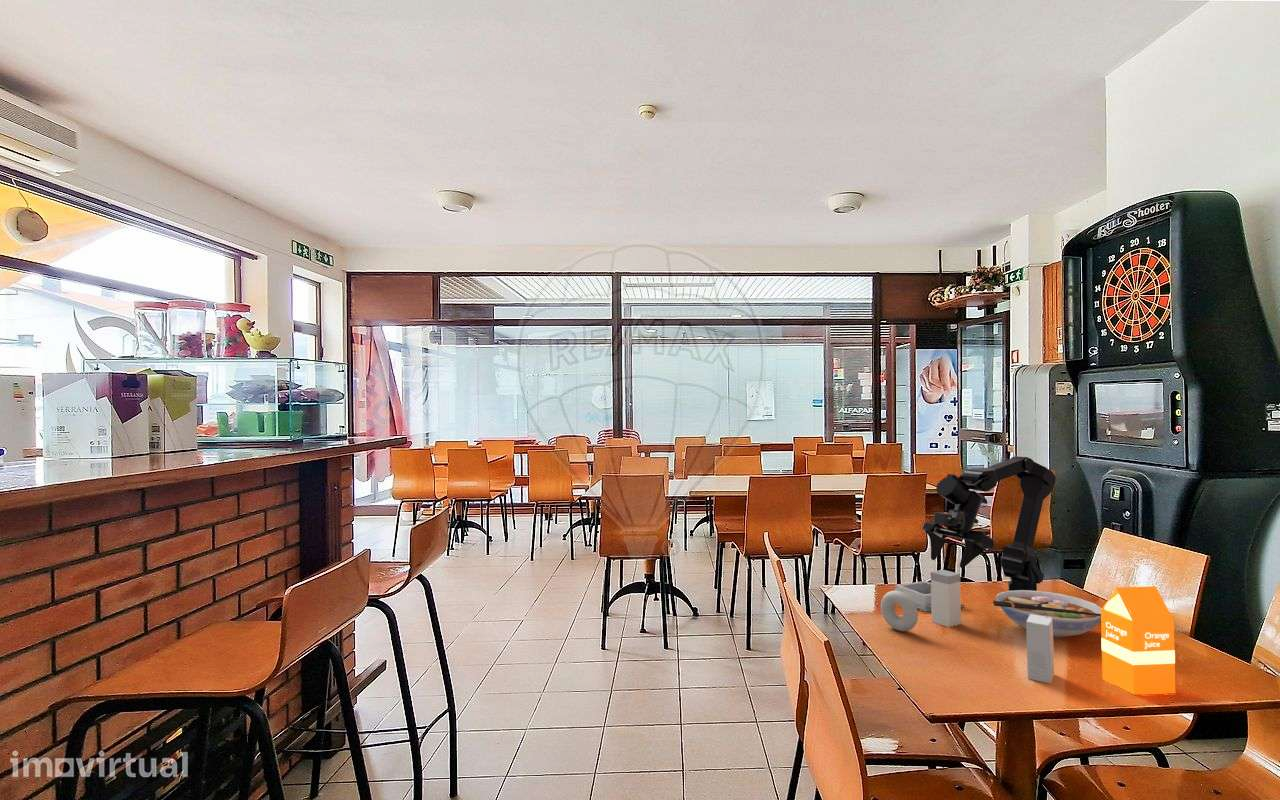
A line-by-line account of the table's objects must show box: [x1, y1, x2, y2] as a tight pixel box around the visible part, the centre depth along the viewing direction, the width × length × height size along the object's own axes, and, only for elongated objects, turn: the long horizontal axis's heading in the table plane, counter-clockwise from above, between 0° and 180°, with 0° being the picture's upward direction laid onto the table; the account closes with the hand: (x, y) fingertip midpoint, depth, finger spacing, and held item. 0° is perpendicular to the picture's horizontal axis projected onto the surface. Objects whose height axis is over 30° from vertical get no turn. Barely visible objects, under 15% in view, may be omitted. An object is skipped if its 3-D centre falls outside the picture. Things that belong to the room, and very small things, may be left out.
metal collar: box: [894, 580, 931, 609], centre depth 178 cm, size 11×11×4 cm
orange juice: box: [1100, 585, 1176, 695], centre depth 124 cm, size 8×9×20 cm
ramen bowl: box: [992, 590, 1103, 639], centre depth 153 cm, size 25×23×8 cm
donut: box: [880, 590, 919, 632], centre depth 156 cm, size 10×4×10 cm, turn 32°
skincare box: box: [1025, 614, 1055, 685], centre depth 129 cm, size 6×4×12 cm
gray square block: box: [930, 569, 962, 628], centre depth 161 cm, size 5×5×13 cm
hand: (946, 563), depth 167 cm, fingers open, 9 cm apart
